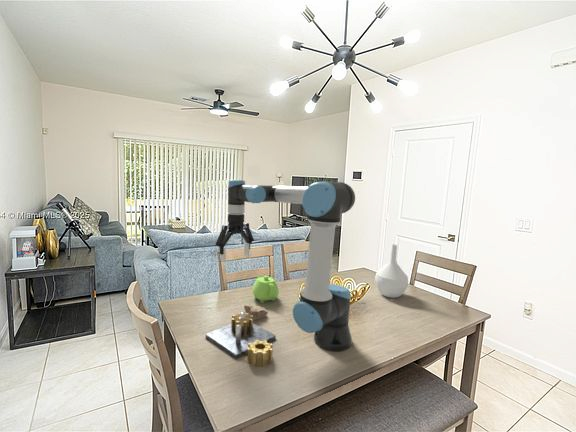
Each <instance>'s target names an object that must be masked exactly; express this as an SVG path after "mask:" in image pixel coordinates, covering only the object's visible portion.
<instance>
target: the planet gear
mask: <svg viewBox="0 0 576 432" xmlns="http://www.w3.org/2000/svg"><path fill="white" fill-rule="evenodd" d="M273 347H274V345H273V343H272V342H269V343H267V340H264V341H258V340H255V342H254V343H249V344H248V351H247V354H246V356H247V357H246V359H247V360H246V362H247V364H248V363H249V364H252V367H255V368H256V367H258V366H259V367H261V366H262V368H264V367H265V368H266V366H267V364H272V362H273V352H274V351H273V349H274V348H273Z"/></svg>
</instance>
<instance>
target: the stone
mask: <svg viewBox="0 0 576 432" xmlns="http://www.w3.org/2000/svg"><path fill="white" fill-rule="evenodd" d="M243 308H244V311H245V314H246V313H249V315H253V321H259V320H261V319H264V318H265V317H267V315H268V310H267V309H266V308H265V307H264V306H263V307H262V306H260V305H259V306H258V305H250V304H249V305H248V304H245V305H244V306H243Z"/></svg>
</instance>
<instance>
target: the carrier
mask: <svg viewBox="0 0 576 432" xmlns="http://www.w3.org/2000/svg"><path fill="white" fill-rule="evenodd" d="M231 316H232V317H231V321H230V322H231V323H230V324H227V325H225V326H222V327H220V328H217V329H215V330H212V331H210V332H207V333H205V338H206V340H208V341H210V342H212V344H215V345H216V346H217V347H219V348H220V349H222V350H223V351H224V352H226V353H227V354H229V356H231V357H233V358H234V359H235V360H237V359H238V358H239V359H240V358H241V357H242V356H244V355H247V351H248V344H249V343H254V342H255V340H258V341H264V340H267V343H269V344H270V343H272V341H274V340H276V338H277V337H276V334H274V333H272V332H270V331H268V330H266V329H264V328H262V327H261V326H259V325H257V324H255V323H254V319H253V315H249V313H246V312H244V311H240V312H238V313H237V314H232V315H231Z"/></svg>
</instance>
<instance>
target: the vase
mask: <svg viewBox="0 0 576 432" xmlns="http://www.w3.org/2000/svg"><path fill="white" fill-rule="evenodd" d="M397 251H398V245H397V244H392V245H391V252H390V260H389V262H387V263H386V264H385V265H383V267H381V268H380V269H379V270H378V271H377V272H376V274H375V279H374V281H375V285H376V288H377V290H378V292H379V293H380V294H381V295H382V296H384V297H387V298H390V299H392V298H393V299H396V298H399V297H401V296H402V295H403V294H404V293H405V292H406V290H407V288H408V286H409V276H408V275H407V274H406V273H405V271H404V270H403V269H402V268H401V266H400V265H399V264H398V262H397V254H398V253H397Z"/></svg>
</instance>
